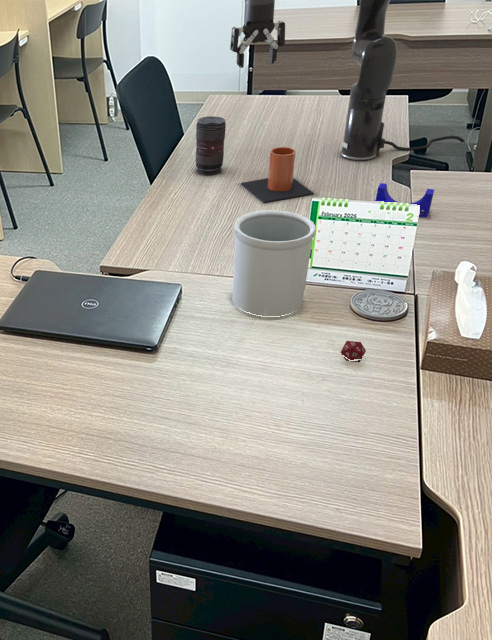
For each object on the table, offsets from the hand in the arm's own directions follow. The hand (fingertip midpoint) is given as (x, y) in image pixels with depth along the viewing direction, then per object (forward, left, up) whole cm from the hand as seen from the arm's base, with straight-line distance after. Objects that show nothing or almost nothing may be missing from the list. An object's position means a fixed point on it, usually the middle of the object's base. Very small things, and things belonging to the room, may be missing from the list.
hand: (256, 65), depth 193 cm
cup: (+1, +21, -27) cm, 35 cm away
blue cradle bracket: (-18, +46, -28) cm, 57 cm away
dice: (+25, +96, -28) cm, 103 cm away
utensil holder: (+30, +73, -28) cm, 84 cm away
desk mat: (+2, +21, -28) cm, 35 cm away
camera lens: (+13, +1, -28) cm, 31 cm away
